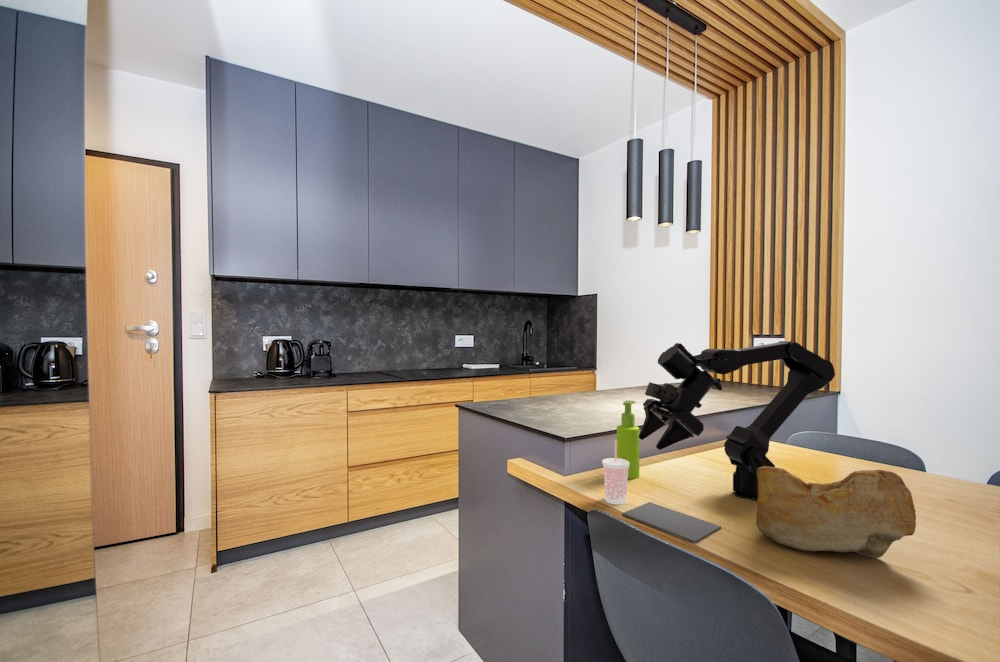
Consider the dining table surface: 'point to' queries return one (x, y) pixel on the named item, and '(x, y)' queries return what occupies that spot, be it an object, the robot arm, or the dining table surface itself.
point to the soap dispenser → (629, 441)
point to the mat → (672, 522)
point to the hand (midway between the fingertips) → (648, 443)
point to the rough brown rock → (835, 511)
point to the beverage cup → (615, 479)
